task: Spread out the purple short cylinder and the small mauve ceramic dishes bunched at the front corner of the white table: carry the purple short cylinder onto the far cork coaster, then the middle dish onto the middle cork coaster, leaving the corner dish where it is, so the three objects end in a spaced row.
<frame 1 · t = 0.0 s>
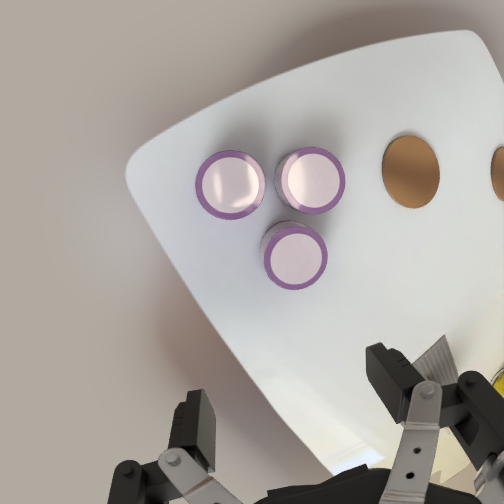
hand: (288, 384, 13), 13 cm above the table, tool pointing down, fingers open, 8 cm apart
architectural model: (425, 389, 31), on the table
purple short cylinder: (288, 249, 25), on the table
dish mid: (304, 180, 23), on the table
supplement bottle: (496, 379, 34), on the table
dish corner: (230, 184, 23), on the table
coaster mid: (411, 171, 24), on the table
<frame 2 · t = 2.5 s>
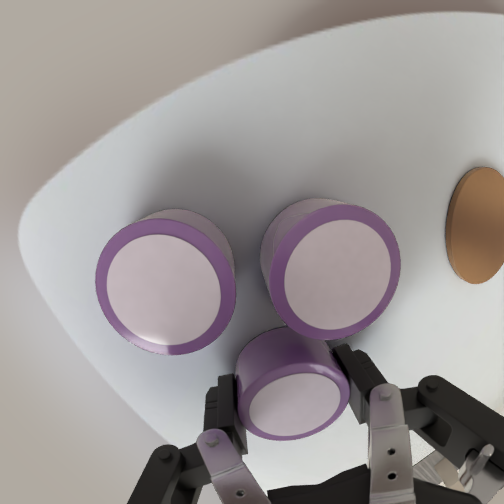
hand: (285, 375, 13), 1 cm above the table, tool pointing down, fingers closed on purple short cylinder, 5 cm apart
architectural model: (442, 464, 21), on the table
purple short cylinder: (284, 368, 14), on the table, touching gripper
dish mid: (316, 255, 12), on the table
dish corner: (176, 267, 12), on the table
coaster mid: (482, 225, 13), on the table
when the fingers open (1 cm above the table, at t = 9.9 s): purple short cylinder stays where it is, resting on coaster.
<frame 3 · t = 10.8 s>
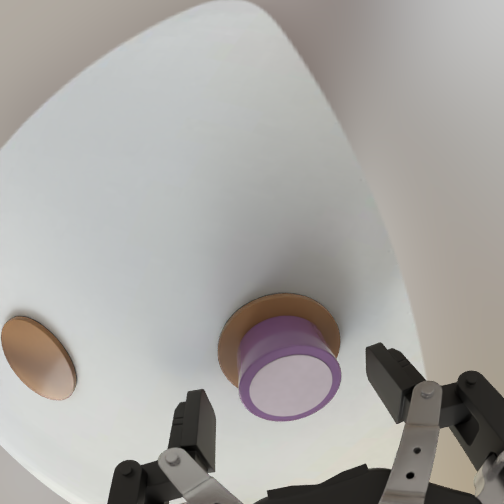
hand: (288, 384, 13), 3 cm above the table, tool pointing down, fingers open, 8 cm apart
purple short cylinder: (281, 354, 15), resting on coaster
coaster mid: (37, 359, 15), on the table
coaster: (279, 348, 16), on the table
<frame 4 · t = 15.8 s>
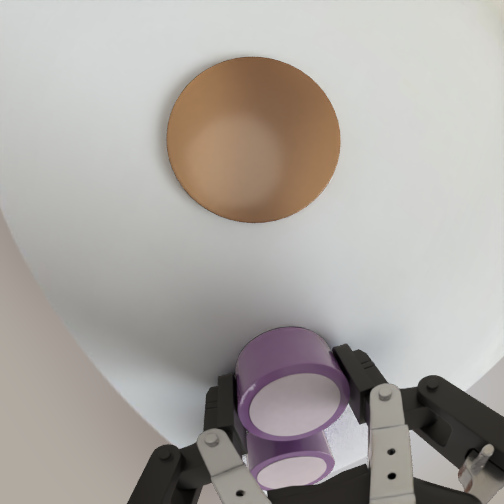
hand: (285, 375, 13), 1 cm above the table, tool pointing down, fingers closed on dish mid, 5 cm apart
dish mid: (284, 368, 14), on the table, touching gripper
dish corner: (284, 438, 15), on the table
coaster mid: (254, 136, 11), on the table
when the fingers open (1 cm above the table, at t = 21.7 s): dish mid stays where it is, resting on coaster mid.
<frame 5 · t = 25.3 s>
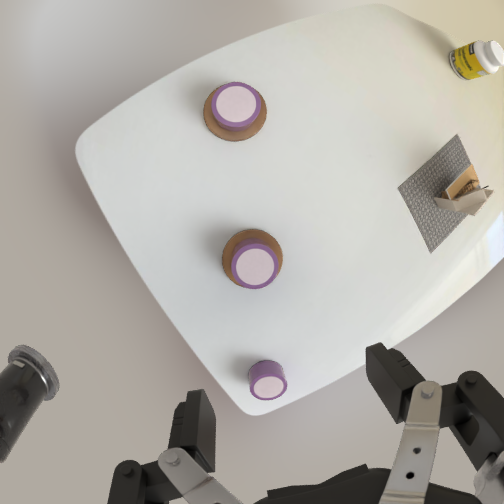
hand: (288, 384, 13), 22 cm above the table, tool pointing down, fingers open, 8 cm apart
architectural model: (446, 191, 34), on the table
purple short cylinder: (235, 110, 29), resting on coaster
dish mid: (252, 259, 33), resting on coaster mid
supplement bottle: (458, 66, 29), on the table
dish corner: (266, 374, 38), on the table
coaster mid: (252, 258, 34), on the table
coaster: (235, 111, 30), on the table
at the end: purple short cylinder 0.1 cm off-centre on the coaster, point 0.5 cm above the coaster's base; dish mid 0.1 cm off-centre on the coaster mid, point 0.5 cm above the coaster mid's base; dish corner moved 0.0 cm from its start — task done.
